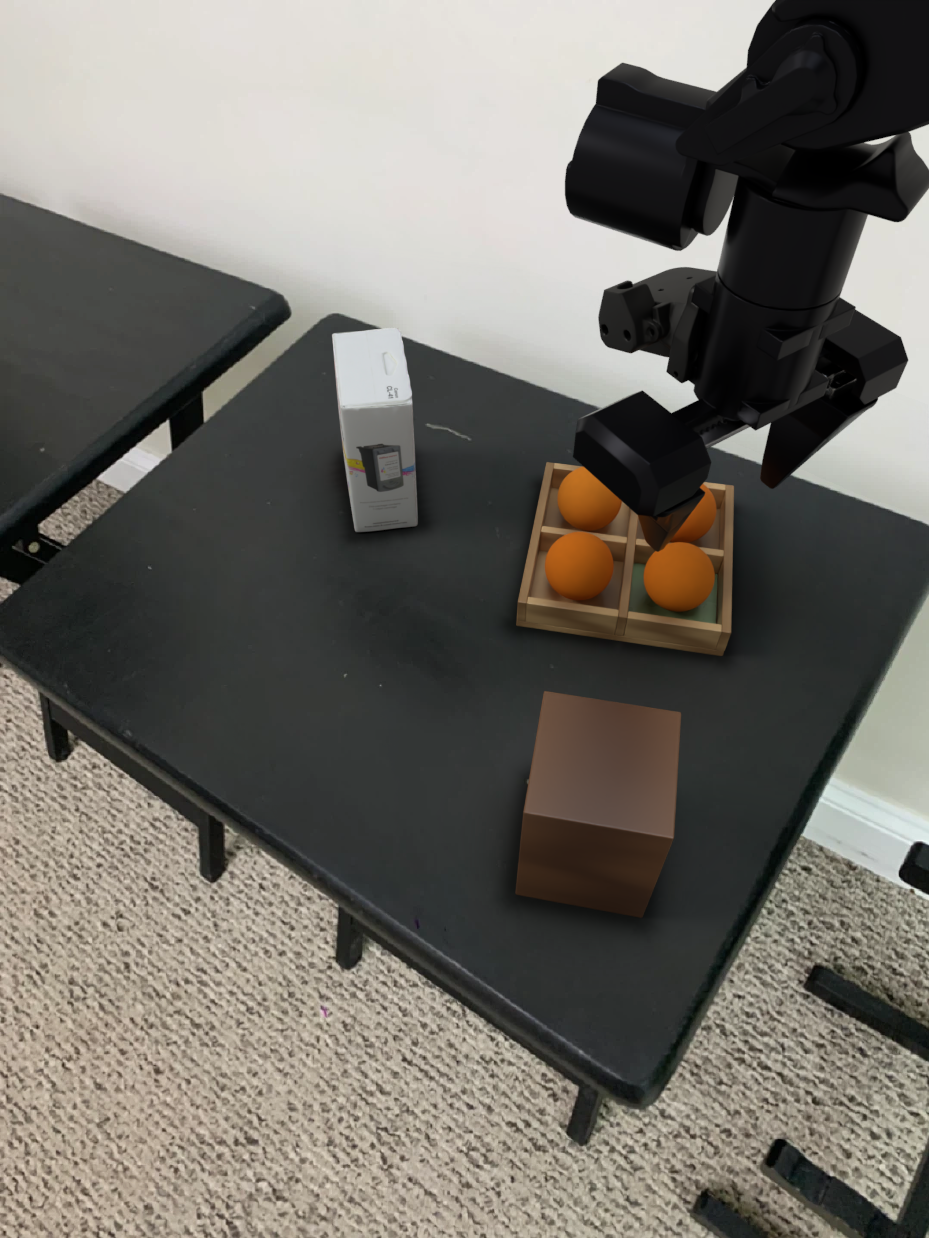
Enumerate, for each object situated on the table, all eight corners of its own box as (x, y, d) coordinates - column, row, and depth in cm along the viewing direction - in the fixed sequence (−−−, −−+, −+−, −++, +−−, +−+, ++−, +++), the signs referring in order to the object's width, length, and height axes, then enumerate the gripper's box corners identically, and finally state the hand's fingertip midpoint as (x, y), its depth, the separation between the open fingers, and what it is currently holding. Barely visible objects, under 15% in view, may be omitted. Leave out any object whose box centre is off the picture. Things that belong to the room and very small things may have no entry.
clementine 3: (710, 515, 68) (723, 468, 65) (708, 560, 65) (721, 514, 62) (647, 506, 69) (657, 460, 65) (642, 551, 66) (652, 505, 62)
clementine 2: (612, 568, 65) (620, 522, 61) (605, 618, 62) (614, 573, 59) (547, 559, 66) (552, 513, 62) (538, 608, 63) (542, 563, 59)
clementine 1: (620, 503, 69) (628, 456, 65) (614, 547, 66) (623, 501, 63) (559, 495, 70) (564, 448, 66) (551, 539, 67) (555, 493, 63)
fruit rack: (726, 510, 69) (734, 485, 67) (722, 656, 61) (731, 633, 59) (544, 487, 71) (546, 461, 69) (516, 626, 63) (517, 601, 61)
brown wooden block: (651, 803, 54) (681, 711, 47) (642, 918, 50) (674, 838, 42) (533, 783, 55) (543, 690, 47) (515, 894, 51) (523, 812, 43)
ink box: (344, 458, 73) (326, 329, 64) (407, 451, 74) (399, 322, 64) (354, 537, 68) (335, 409, 59) (422, 529, 68) (414, 400, 59)
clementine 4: (707, 581, 64) (722, 533, 61) (705, 630, 61) (721, 583, 58) (640, 571, 65) (651, 523, 61) (636, 619, 62) (647, 572, 58)
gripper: (793, 154, 50) (731, 388, 63) (515, 260, 44) (506, 498, 56) (965, 244, 44) (859, 482, 57) (673, 381, 38) (625, 616, 50)
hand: (712, 514), depth 55 cm, fingers open, 9 cm apart
